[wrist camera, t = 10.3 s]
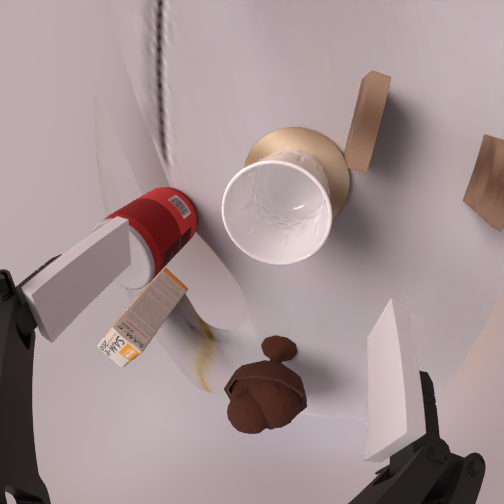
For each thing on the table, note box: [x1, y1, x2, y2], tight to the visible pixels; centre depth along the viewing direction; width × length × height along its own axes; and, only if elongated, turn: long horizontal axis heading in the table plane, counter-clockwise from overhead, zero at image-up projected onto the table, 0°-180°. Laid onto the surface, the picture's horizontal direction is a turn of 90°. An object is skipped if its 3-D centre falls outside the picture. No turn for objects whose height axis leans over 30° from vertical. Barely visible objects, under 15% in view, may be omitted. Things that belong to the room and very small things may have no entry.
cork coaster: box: [244, 127, 350, 219], centre depth 28 cm, size 11×11×1 cm
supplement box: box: [97, 268, 188, 368], centre depth 36 cm, size 8×5×13 cm, turn 138°
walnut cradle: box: [344, 70, 504, 231], centre depth 20 cm, size 8×16×7 cm, turn 80°
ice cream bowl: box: [224, 336, 307, 434], centre depth 35 cm, size 11×11×15 cm
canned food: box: [91, 187, 197, 290], centre depth 30 cm, size 8×8×11 cm
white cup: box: [222, 149, 332, 265], centre depth 24 cm, size 8×8×10 cm
